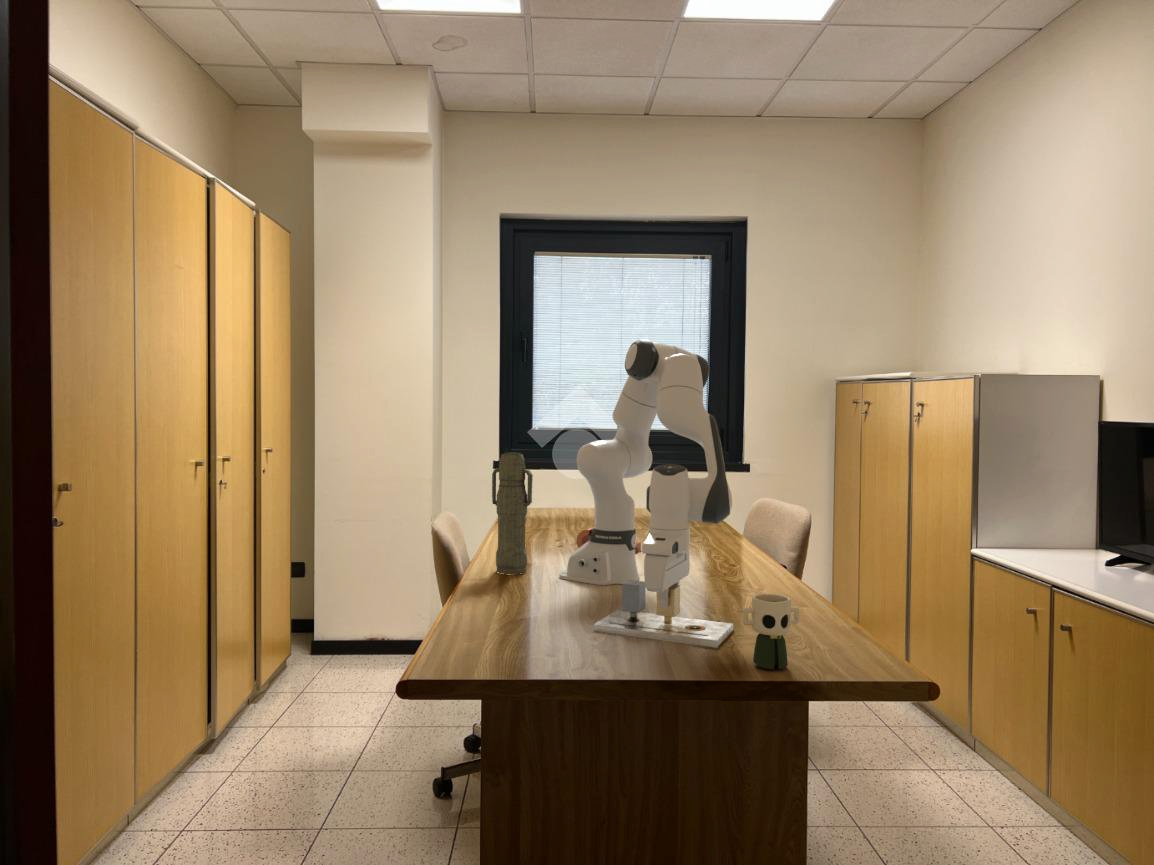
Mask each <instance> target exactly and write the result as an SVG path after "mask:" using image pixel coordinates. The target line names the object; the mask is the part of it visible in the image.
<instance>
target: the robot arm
mask: <svg viewBox="0 0 1154 865" xmlns="http://www.w3.org/2000/svg"><path fill="white" fill-rule="evenodd" d="M627 350H628V351H627V352H626V354H625V360H624V370H625V372H626V374H627V375H628V377H627V379H626V381H625V383H624V385H623V387H622V390H621V393H620V395H619V397H618V400H617V402H616V404H615V407H614V409H613V412H612V419H613V422H614V423H615V425H616V433H615V436H614V437H613V438H612V439H599V440H598V439H597V440H593V441H591V442H588V443H586V444H584V445H583V444H582V446H581V447H580V448H579V450H578V452H577V455H576V465H577V466H576V467H577V470H578V471H579V473H580V475H582V476H583V477H584V478H585V479H586V480H587V483H588V484H589V486H590V489H591V493H592V495H593V502H594V503H593V504H594V526H593V527H594V528H593V529H591V530H589V531H588V532H586V533H588V534H587V535H586V536H588V535H589V541H588V542H586V543H585V544H584V545H582V546H581V547H580V548H577V549H576V550H574V551H573V552H572V553H571V554H570V556H569V558H568V561H567V567H566V569H564V570H562V571H561V572H560V573H559V575H558V577H559V579H561V580H567V581H568V580H569V581H573V582H581V583H586V584H592V585H596V586H597V585H599V586H608V585H619V584H621V585H622V583H624V582H626V581H628V580H633V581H640V575H639V572H638V566H637V560H636V559H637V558H636V552H635V548H636V540H637V534H636V532H637V531H636V530H637V528H635V507H636V506H635V500H634V499H633V497H632V496H631V495H630V494H628V493H627V490H626V487H625V484H624V479H629V478H630V479H632V478H635V477H639V476H640V475H643V474H644V473H647V472H648V471H649V469H650V468H651V467H652V463H653V453H652V450H651V448H650V446H649V440H650V439H649V438H650V433H651V430H652V427H653V423H654V421H655V419H656V417H657V419H658V421H660V423H661V424H662V425H663V427H664V428H666V429H667V430H668V431H670V432H671V433H673V434H675V435H678V436H681V437H684V438H687V439H689V440H691V441H694V442H696V443H697V444H699V445H700V446H701V447H702V449H703V450H704V456H705V461H706V462H705V463H706V469H707V476H706V477H703V478H699V477H689V473H688V468H686V467H685V466H683V465H680V464H676V463H675V464H674V463H673V464H672V463H666V464H659V465H657V466H655V467H653V469H652V472H651V477H650V483H649V486H647V488H646V501H645V502H646V506H645V508H646V510H647V511H648V512H649V513H650V517H649V518H650V519H649V522H648V533H647V536H646V538H645V540H644V541H643V543H642V544H641V552H642V554H643V555H644V558H643V559H644V560H643V571H644V572H643V575H644V577H643V578H644V582H645V586H646V591H647V592H654V593H656V595H657V594H658V597H659V606H660V607H661V608H667V607H668V606H669V598H668V591H669V587H671V586H672V585H680V582H681V581H682V580H683V579H684V578H686V577H687V576H689V574H690V566H691V565H690V563H691V562H690V548H691V547H690V544H691V542H690V541H691V540H690V539H691V525H690V522H702V523H709V524H717V525H718V524H719V523H721V522H723V521H724V520H726V519H727V518H728V516H730V514H731V512H732V507H733V496H732V492H731V489H730V485H729V483H728V480H727V472H726V467H725V461H724V455H723V447H722V441H721V437H720V433H719V428H718V423H717V420H716V418H715V416H714V415H713V414H710V413H708V411H707V410H706V408H705V405H704V388H705V386H706V384H707V383H708V380H709V377H710V376H709V375H710V366H709V363H708V360H707V359H705V358H704V357H702V356H701V355H699V354H697V353H693V352H690V351H688V350H686V349H684V348H681V347H678V346H675V345H669V344H666V343H661V342H656V341H654V342H653V341H652V340H650V339H644V338H643V339H642V338H641V339H637V340H635V341H634V342H632V343H631V345H630V346H629V348H628V349H627Z"/></svg>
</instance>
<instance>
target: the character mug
mask: <svg viewBox="0 0 1154 865" xmlns="http://www.w3.org/2000/svg"><path fill="white" fill-rule="evenodd" d="M793 612H794V613H793ZM749 613H751V619H749ZM792 613H793V618H792ZM799 622H800V608H799V606H792V600H791V598H790V597H788V596H786V595H782V594H776V593H757V594H754V595H752V597H751V607H744V608H743V610H742V624H743V625H744V626H751V629H752V630H753V631H754V632H755V633H757V636H756V638H755V645H754V651H753V659H752V660H753V664H756V666H758V667H760V668H763V669H769V670H775V667H778V669H780V670H781V669H785V668H787V667H788V666H789V664H788V652H787V644H786V639H785V635H788V633H789V632H790V630H791V628H792V625H797V624H799Z"/></svg>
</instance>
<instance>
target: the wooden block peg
mask: <svg viewBox="0 0 1154 865" xmlns="http://www.w3.org/2000/svg"><path fill="white" fill-rule="evenodd" d="M668 598H669V606H668V607H667V608H661V607H660V606H659V597H658V594H657V593H656V602H655V603H656V606H655V607H656V611H655V612H656V613H655V614H656V615H660V616H664V623H665V624H672V617H677V615H679V614H680V613H681V585H680V584H679V585H672V586H671V587H669V591H668Z"/></svg>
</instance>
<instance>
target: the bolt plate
mask: <svg viewBox="0 0 1154 865" xmlns="http://www.w3.org/2000/svg"><path fill="white" fill-rule="evenodd" d="M646 591H647V589H646V586H645V581H644V580H643V581H642V580H641V581H640V580H638V581H633V580H628V581H626V582H624V583H622V584H621V609H616V610H615V611H613V612H611V613H610V614H608V615H607V616H605V617H603V618H601V619H600V620H598V621H596V622H595V623H593V631H594V632H598V633H606V634H612V635H619V636H626V637H636V638H641V639H642V638H643V639H649V640H656V641H664V642H671V643H678V644H685V645H692V646H698V647H707V648H714V649H717V648H719V646H720V645H721V644H723V642H724V641H725V640H726V638H728V637H729V635H730V634H731V633H732V632H733V631H734V623H731V622H724V621H716V620H715V621H714V620H705V619H697V618H691V617H689V618H688V617H681V616H675V617H672V624H665V623H664V616H660V615H656V613H650V612H649V613H648V612H643V611H645V610H646Z"/></svg>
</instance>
